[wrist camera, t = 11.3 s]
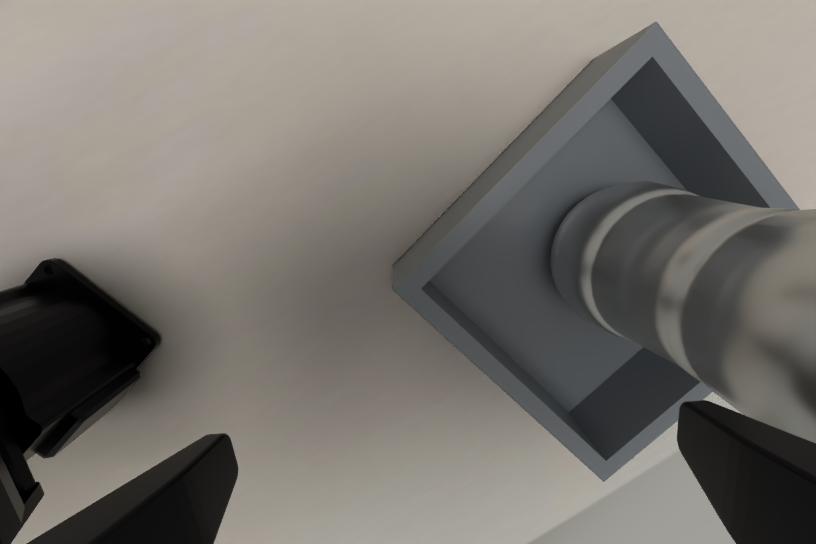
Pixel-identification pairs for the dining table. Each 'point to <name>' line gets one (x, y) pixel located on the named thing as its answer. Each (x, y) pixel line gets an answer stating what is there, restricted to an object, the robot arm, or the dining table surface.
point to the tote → (534, 235)
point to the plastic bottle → (702, 291)
